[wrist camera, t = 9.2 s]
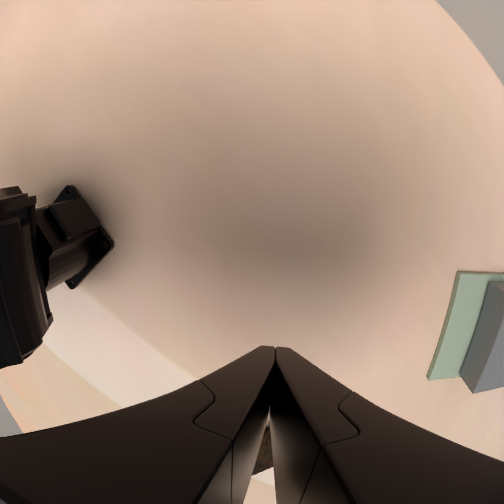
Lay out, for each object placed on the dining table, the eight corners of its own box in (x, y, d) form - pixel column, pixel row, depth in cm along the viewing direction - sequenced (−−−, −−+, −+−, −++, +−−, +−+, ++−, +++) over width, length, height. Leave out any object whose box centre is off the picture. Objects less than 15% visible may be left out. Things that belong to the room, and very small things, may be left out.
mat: (426, 376, 22) (428, 380, 22) (457, 271, 20) (460, 273, 19) (522, 361, 21) (525, 363, 21) (551, 274, 19) (554, 276, 18)
